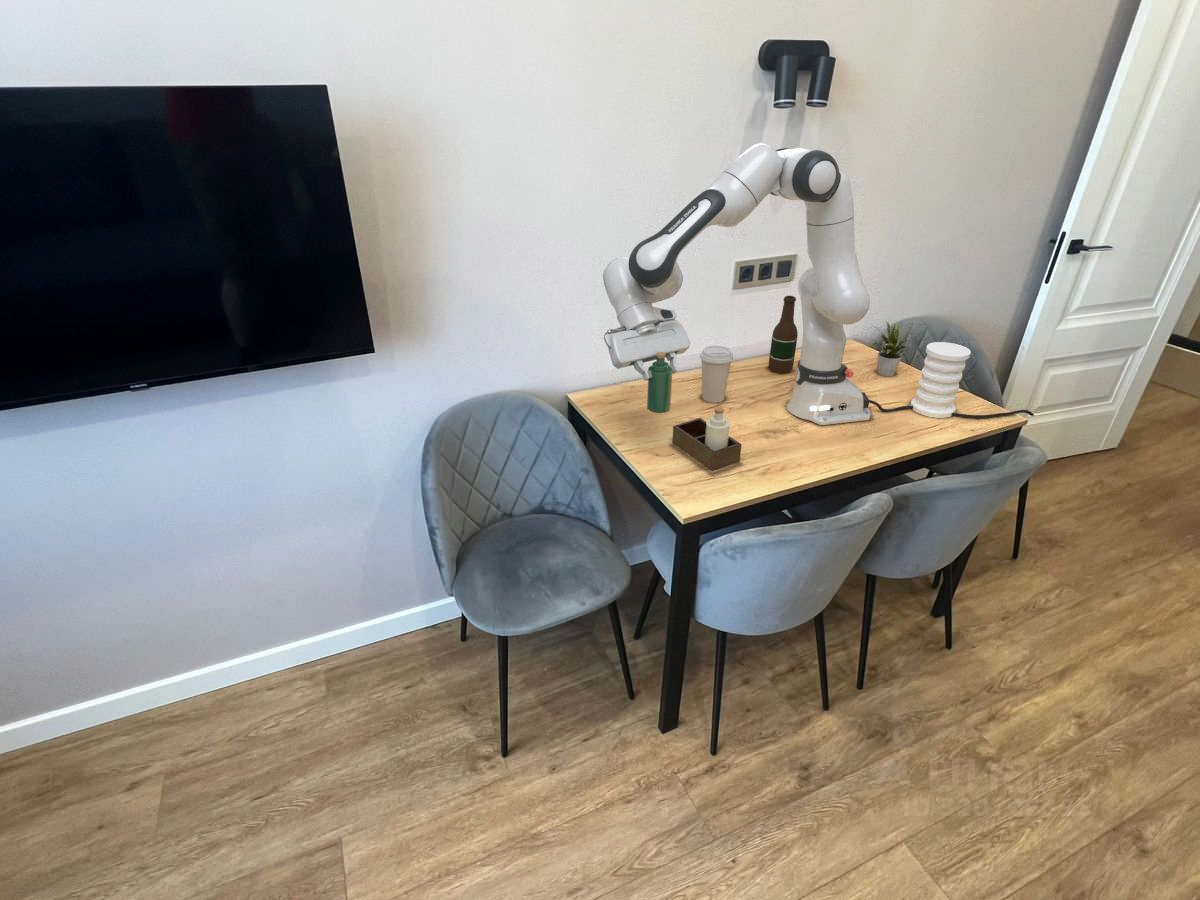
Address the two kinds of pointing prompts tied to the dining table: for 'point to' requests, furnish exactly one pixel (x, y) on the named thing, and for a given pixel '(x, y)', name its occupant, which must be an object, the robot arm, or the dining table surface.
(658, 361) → the green bottle
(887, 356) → the house plant
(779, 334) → the beer bottle
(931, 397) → the decorative container
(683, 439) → the caddy
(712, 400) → the coffee cup
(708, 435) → the cream bottle
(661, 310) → the robot arm
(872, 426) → the dining table surface
